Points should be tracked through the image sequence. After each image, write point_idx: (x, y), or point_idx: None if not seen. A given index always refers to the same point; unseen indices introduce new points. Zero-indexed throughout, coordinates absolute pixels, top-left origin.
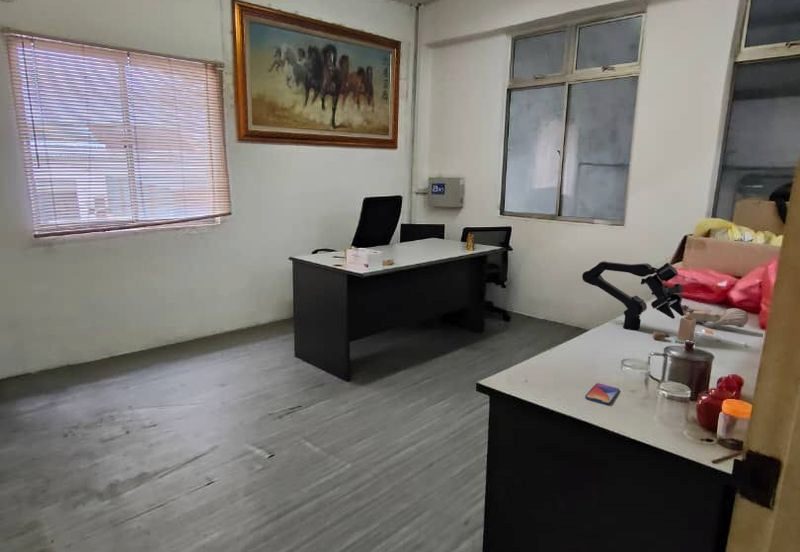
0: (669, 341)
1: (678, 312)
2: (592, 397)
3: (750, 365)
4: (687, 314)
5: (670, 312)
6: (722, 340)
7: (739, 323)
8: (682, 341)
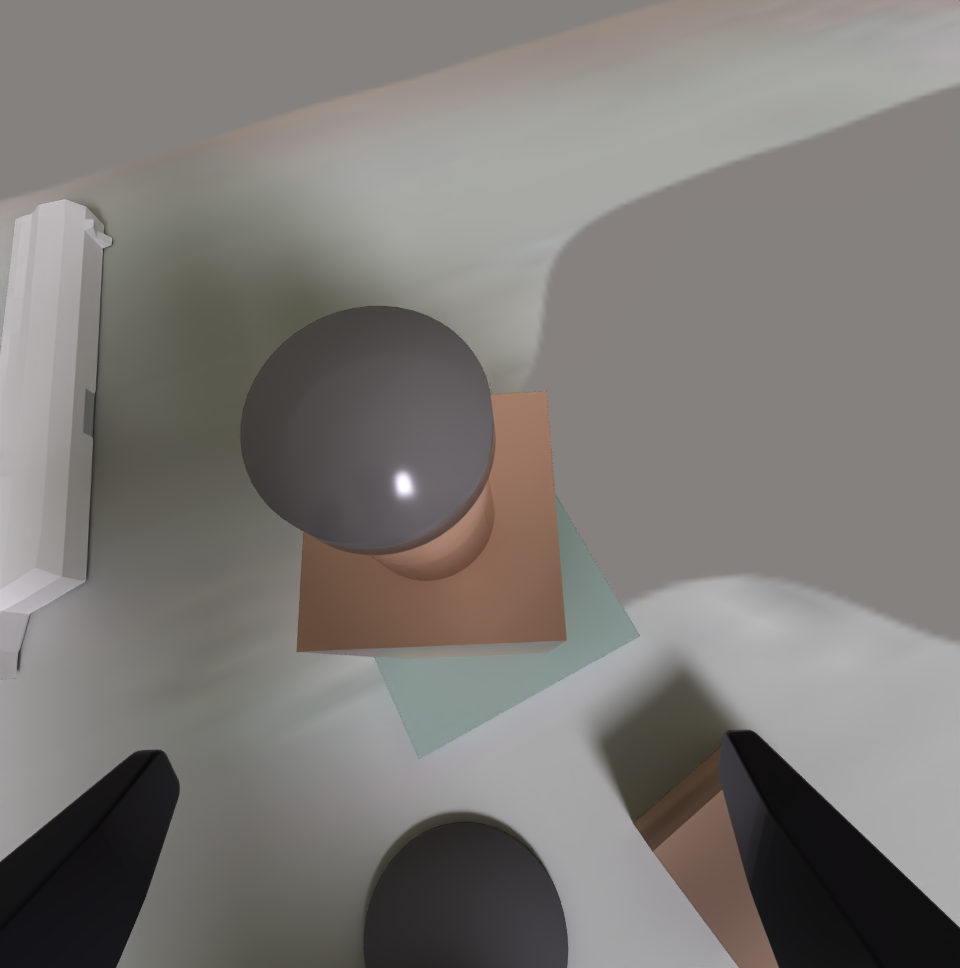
0: (658, 700)
1: (107, 951)
2: None
3: (624, 17)
4: (484, 492)
5: (926, 925)
6: (82, 374)
7: None
8: (572, 570)
